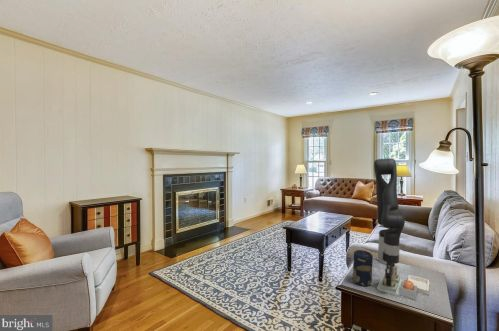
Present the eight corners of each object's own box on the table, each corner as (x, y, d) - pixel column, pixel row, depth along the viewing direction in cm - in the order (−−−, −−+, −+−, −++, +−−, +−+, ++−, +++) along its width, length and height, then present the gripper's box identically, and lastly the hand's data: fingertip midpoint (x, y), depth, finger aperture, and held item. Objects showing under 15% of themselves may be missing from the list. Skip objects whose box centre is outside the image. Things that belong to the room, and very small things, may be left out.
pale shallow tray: (408, 278, 141) (408, 274, 141) (429, 284, 135) (429, 280, 135) (406, 289, 131) (406, 284, 130) (428, 295, 125) (428, 291, 125)
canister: (372, 281, 138) (374, 250, 136) (369, 289, 130) (371, 256, 128) (354, 276, 143) (355, 246, 142) (350, 283, 135) (352, 251, 134)
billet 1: (385, 282, 132) (386, 268, 132) (394, 285, 130) (394, 270, 129) (384, 286, 129) (385, 271, 129) (392, 288, 127) (393, 273, 126)
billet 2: (388, 276, 141) (389, 262, 140) (396, 278, 139) (397, 265, 138) (387, 279, 138) (388, 265, 137) (395, 281, 135) (396, 267, 135)
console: (401, 288, 131) (401, 281, 130) (416, 293, 126) (417, 286, 126) (399, 294, 125) (399, 287, 125) (415, 300, 121) (416, 292, 120)
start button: (404, 290, 128) (404, 279, 128) (413, 293, 126) (413, 282, 126) (403, 294, 125) (403, 282, 125) (412, 297, 123) (413, 285, 122)
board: (383, 275, 144) (383, 270, 144) (403, 281, 138) (403, 276, 138) (376, 289, 129) (377, 284, 129) (398, 296, 123) (399, 291, 123)
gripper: (385, 246, 136) (383, 275, 137) (380, 254, 125) (378, 286, 126) (400, 249, 132) (399, 280, 133) (397, 258, 120) (395, 292, 121)
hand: (389, 283), depth 129 cm, fingers closed on billet 1, 4 cm apart
